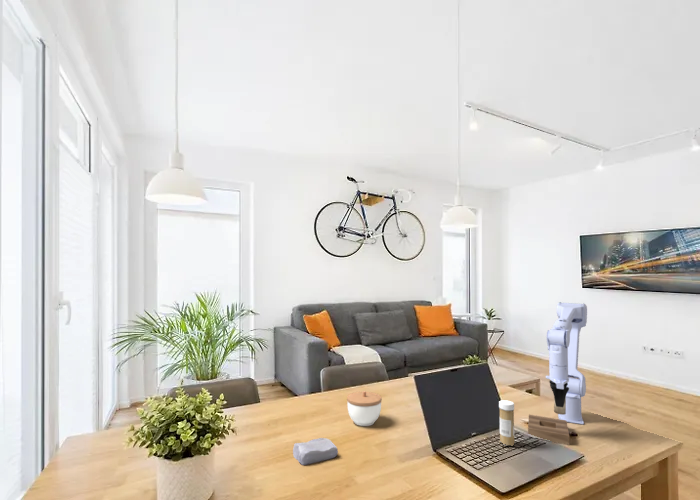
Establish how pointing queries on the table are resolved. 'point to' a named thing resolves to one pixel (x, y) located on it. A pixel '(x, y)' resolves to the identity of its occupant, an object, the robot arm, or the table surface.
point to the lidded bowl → (364, 407)
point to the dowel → (560, 408)
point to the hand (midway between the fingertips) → (559, 404)
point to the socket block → (549, 429)
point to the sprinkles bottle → (506, 422)
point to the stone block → (314, 451)
